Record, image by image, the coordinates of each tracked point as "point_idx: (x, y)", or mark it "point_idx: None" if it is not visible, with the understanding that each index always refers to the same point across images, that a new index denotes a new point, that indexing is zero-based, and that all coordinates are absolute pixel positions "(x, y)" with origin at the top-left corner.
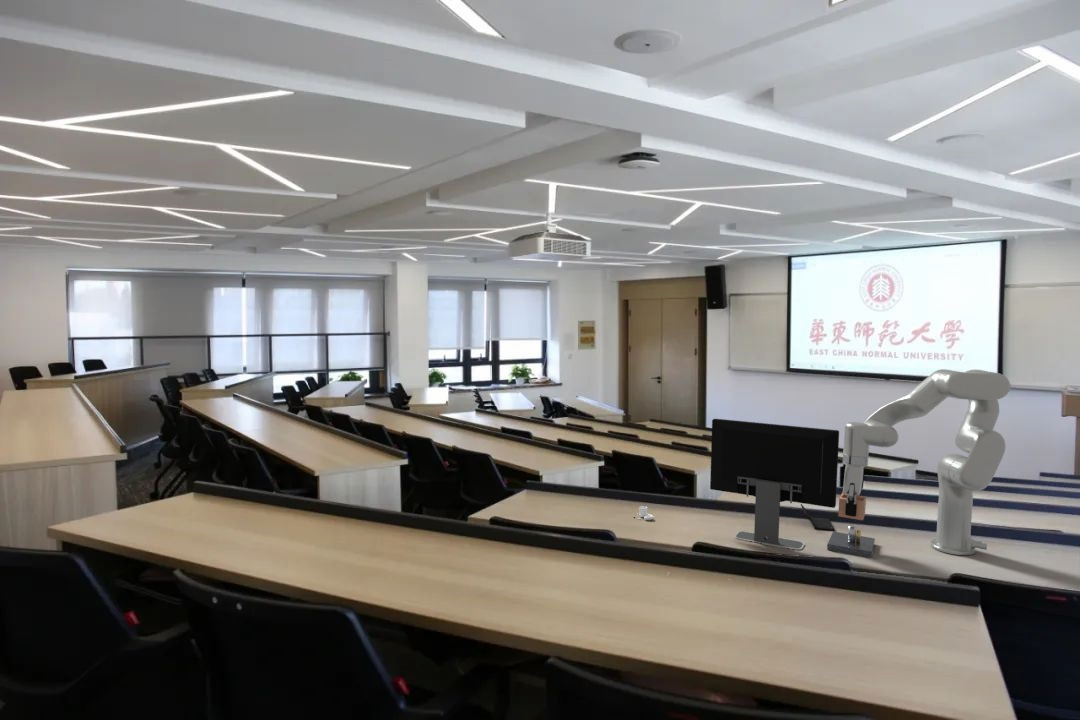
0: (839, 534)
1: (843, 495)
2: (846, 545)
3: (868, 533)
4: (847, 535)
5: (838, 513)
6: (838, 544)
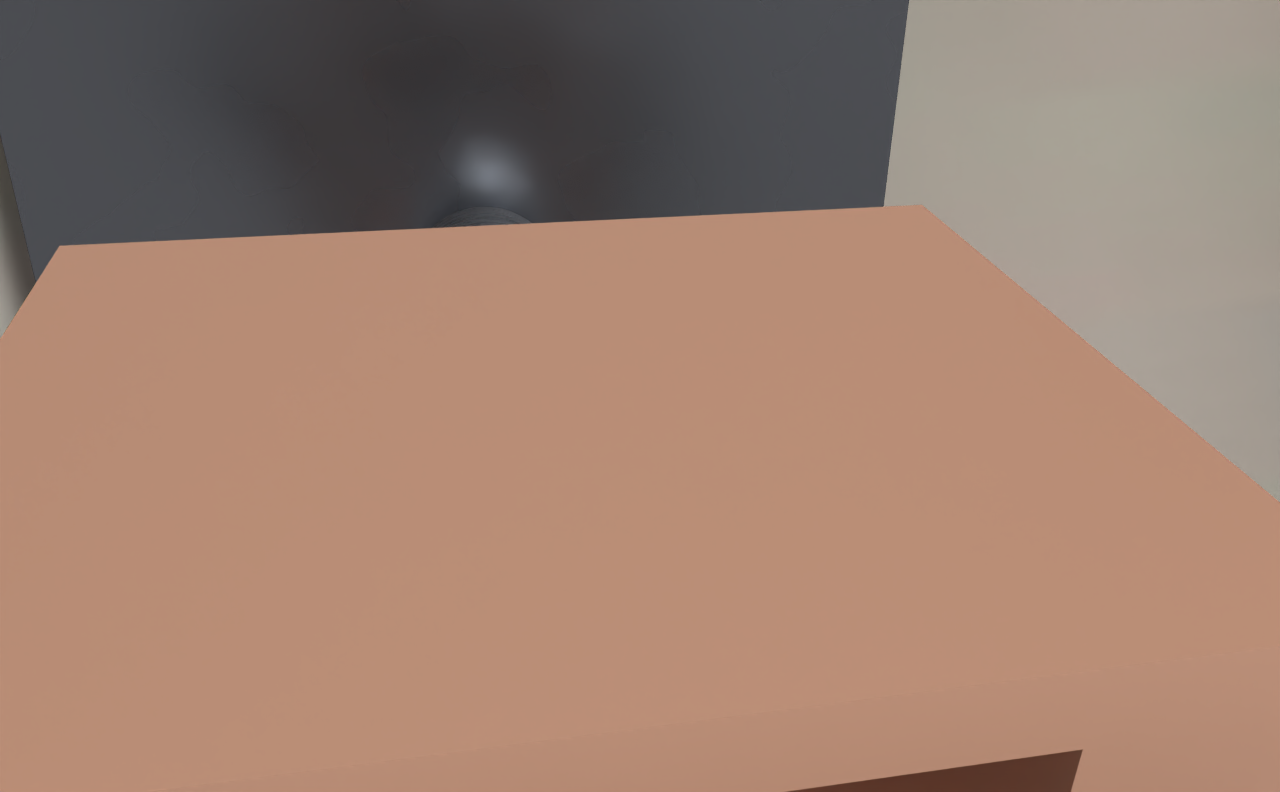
0: (773, 11)
1: (1046, 729)
2: (137, 234)
3: (1268, 357)
4: (785, 161)
5: (25, 299)
6: (82, 82)
